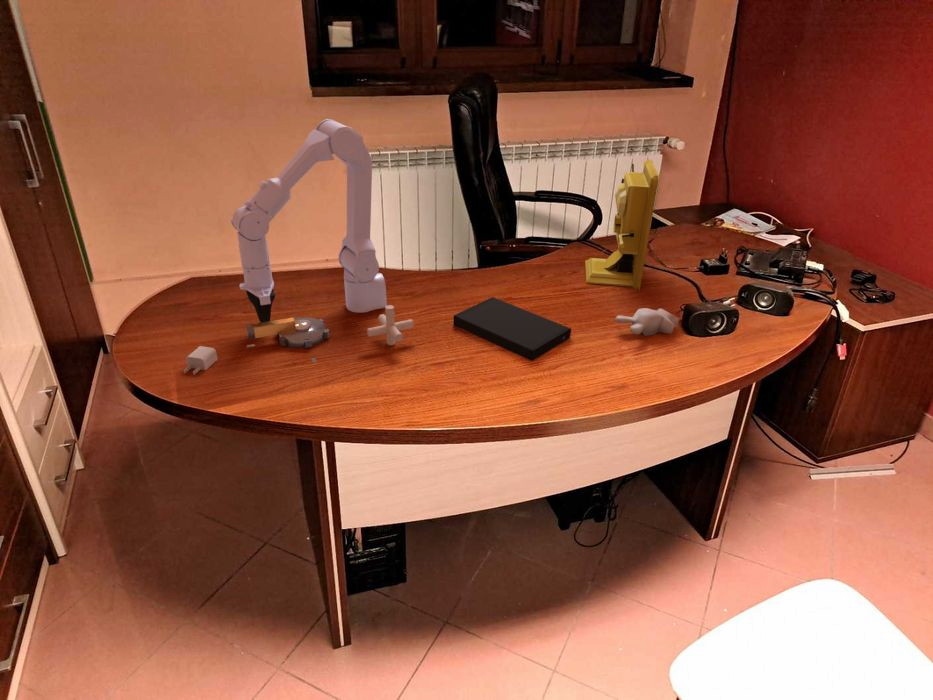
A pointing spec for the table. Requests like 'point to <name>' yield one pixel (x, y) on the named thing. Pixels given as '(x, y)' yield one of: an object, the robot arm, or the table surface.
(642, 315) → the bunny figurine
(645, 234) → the vintage telephone
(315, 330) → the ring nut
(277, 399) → the table surface
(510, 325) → the external hard drive
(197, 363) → the usb wall charger
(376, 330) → the pipe connector
